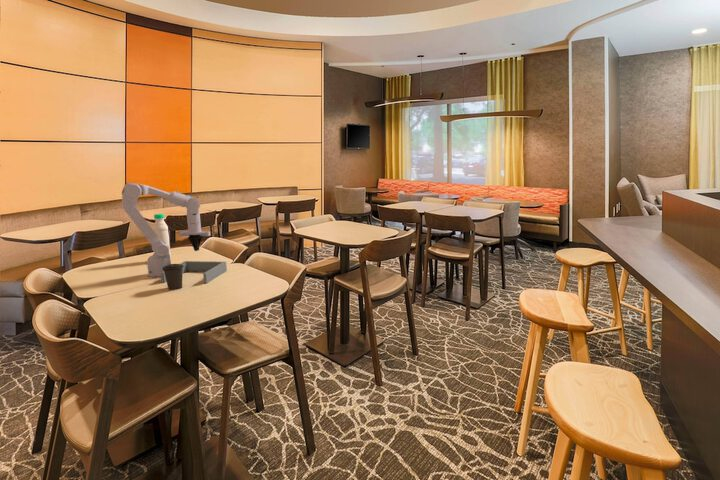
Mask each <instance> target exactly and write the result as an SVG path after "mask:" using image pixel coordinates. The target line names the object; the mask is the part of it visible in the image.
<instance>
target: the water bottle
mask: <svg viewBox="0 0 720 480" xmlns="http://www.w3.org/2000/svg"><path fill="white" fill-rule="evenodd" d="M153 218H154V220H155V222H154V224H153V227H152V229H153V231H154V232H155V233H156V234H157V236H158V237H159V238H160V240H162V241H164V242H165V243H166V244H167V245H168V246H169V249H170V251H169V254H170V260H171V261H172V254H171V246H170V244H171V243H170V235H169V234H170V233H169V227H168V225H167V224H166V222H165V220H164V219H165V214H164V213H155V214H154V215H153Z"/></svg>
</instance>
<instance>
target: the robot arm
mask: <svg viewBox="0 0 720 480" xmlns="http://www.w3.org/2000/svg"><path fill="white" fill-rule="evenodd" d="M121 195H122V196H121V207H122V209H123V211H125V213H126V214H127V215H128V217H129V218H130V219H131V220H132V222H133V223H134V224H135V226H136V227H137V228H138V230H139V231H140V233H142V235H143V236H144V237H145V239H146V240H147V241H148V243H149V244H150V246H151V250H152V252H154V253H153V254H152V255H151V256H149V257H148V258H147V260H146V266H147V277H156V278H157V277H161V273H162V272H164V270H163V269H162V268H163V267H164V266H167V265H170V264H172V259H171V260H170V254H171V253H170V254H169V251H170V252H171V248H170V249H169V246H168V245H167V244H166V243H165V242H164V241H162V240H160V238H159V237H158V236H157V234H156V233H155V232H154V230H153V227H152V226H151V225H150V224H149V223H148V221H147V220H146V219H145V217H144V216H143V215H142V213H141V212H140V211H139V209H138V208H137V207H136V206H137V201H138V199H139V198H140V197H141V196H148V195H152V196H155V197H158V198H161V199H165V200H167V201H168V202H169V204H172V205H175V206H178V207H182V208H185V209H186V220H187V221H186V222H187V230H185V231H184V230H183V231H179V236H180V237H183V236H184V237H187V236H188V237H187V239H188V241H189V242H190V244H191V245H192V248H193V251H194V252H197V251H200V245H201V242H202V239H203V237H210V236H211V231H209V230H207V231H206V230H202V226H201V225H202V223H201V213H200V207H201V203H200V200H198V198H196V197H193V196H191V195H190V194H187V195H186V194H183V193H180V191H178V190H176V191H171V192H168V191H164V190H161V189H159V188H156V187H153V186H149V185H148V184H143V183H142V184H141V183H135V182H127V183H125V184H124V186H123V188H122V191H121ZM161 278H162V277H161Z"/></svg>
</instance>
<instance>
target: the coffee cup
mask: <svg viewBox="0 0 720 480" xmlns="http://www.w3.org/2000/svg"><path fill="white" fill-rule="evenodd" d="M183 267H184V266H183V265H181V264H180V263H171V264H170V265H167V266H164V267H163V268H162V269H163V270H164V273H165V277H166V282H165V283H166V285H167V289H168V290H169V291H175V290H176V291H177V290H181V289H183V273H182V270H183Z"/></svg>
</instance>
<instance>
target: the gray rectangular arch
mask: <svg viewBox="0 0 720 480" xmlns="http://www.w3.org/2000/svg"><path fill="white" fill-rule="evenodd" d="M179 264H181V265H183V266H184V267H183V270H182V274H184V273H186V272H192V271H193V272H202V273H203V272H204V273H203V274H202V275H203V276H202V277H203V284H206V285H207V284H208V283H211V282H212V281H213V280H215V279H216V278H218V277H220V276H221V275H222V274H224V273H225V272H228V271H227V270H228V269H227V268H228V267H227V261H214V260H213V261H211V260H209V261H207V260H206V261H205V260H200V261H199V260H185V261H183V262H181V263H179ZM161 282H162V283H163V284H164V283H165V284H166V283H167V282H166V277H165V273H164V272H162V273H161Z"/></svg>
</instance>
